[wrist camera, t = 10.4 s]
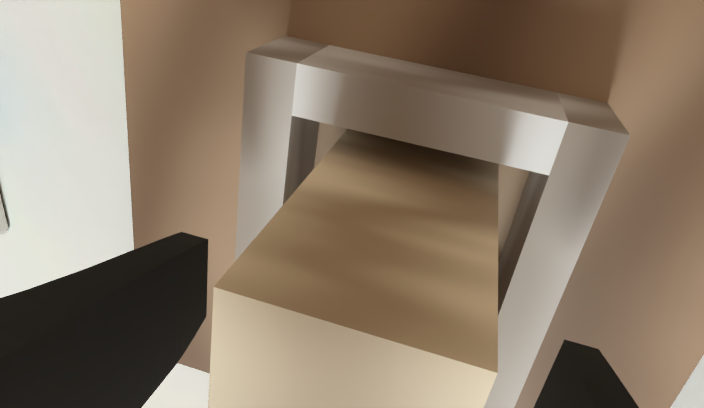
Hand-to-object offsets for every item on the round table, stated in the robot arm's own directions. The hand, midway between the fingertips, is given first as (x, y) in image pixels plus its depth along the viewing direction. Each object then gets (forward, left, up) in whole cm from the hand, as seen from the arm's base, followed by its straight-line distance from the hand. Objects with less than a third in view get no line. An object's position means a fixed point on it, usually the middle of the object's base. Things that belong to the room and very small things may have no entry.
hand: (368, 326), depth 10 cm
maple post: (0, 0, -5) cm, 5 cm away
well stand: (0, 0, -6) cm, 6 cm away
